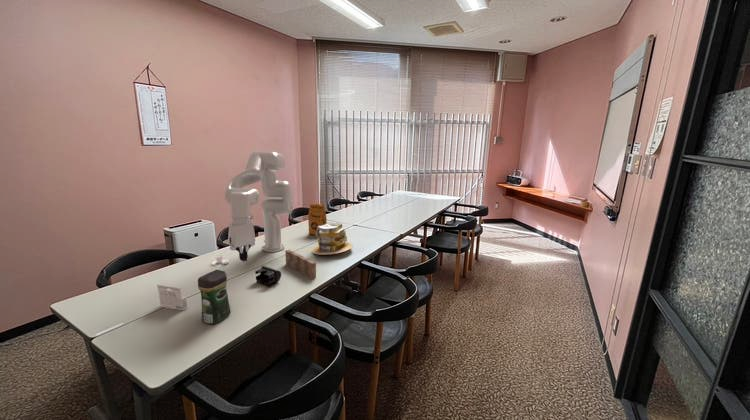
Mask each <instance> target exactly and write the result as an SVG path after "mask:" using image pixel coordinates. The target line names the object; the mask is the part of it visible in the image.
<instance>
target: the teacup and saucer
mask: <svg viewBox="0 0 750 420" xmlns="http://www.w3.org/2000/svg"><path fill="white" fill-rule="evenodd" d="M223 257H224V256H223V255H216V256H215V260H214V261H213V262H212V263H211V264H212V266H216V267H218V266H224V265H226V264H227V265H228V264H229V263H230V261H229V260H227V259H224V258H223ZM216 263H217V264H216Z"/></svg>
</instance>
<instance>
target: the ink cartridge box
mask: <svg viewBox="0 0 750 420" xmlns="http://www.w3.org/2000/svg"><path fill="white" fill-rule="evenodd" d="M156 285H157V291H158V297H159V305H160V307H162V308H167V309H173V310H178V311H185V310H187V309H188V301H187V296H184V295H182V291H181V288H178V287H174V286H165V285H159V284H156ZM168 289H169V290H168Z"/></svg>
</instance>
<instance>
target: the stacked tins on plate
mask: <svg viewBox="0 0 750 420" xmlns="http://www.w3.org/2000/svg"><path fill="white" fill-rule="evenodd" d="M346 231H347V230H346V229H345V228H344V227H343V223H342V222H336V223H335V222H332V221H331V222H328V223H326V224H324V225H323V226H318V227H317V232H316V235H315V238H318V240H317V244H318V245H317V246H315V247H314V248H312V249H311V252H312V253H313V254H315V255H325V256H327V255H335V254H340V253H343V252H346V251H348V250H351V249H352V248H353V247H354V245H353V243H351V242H348V237H347V234H346V233H347V232H346Z"/></svg>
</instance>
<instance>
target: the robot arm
mask: <svg viewBox="0 0 750 420" xmlns="http://www.w3.org/2000/svg"><path fill="white" fill-rule="evenodd" d="M285 166H286V159H285V157H284V155H283V154H282V153H279V152H276V151H261V150H260V151H259V150H258V151H253V152H252V153H251V154H250V155H249V157H248V159H247V163H246V166H245V168H244V171H241V172H239V173H238V174H236V175H235V176H233V177H232V178H231V179H230V180H229V181H228V184H227V186H226V188H225V189H226V190H225V192H224V200H225V202H226V203H227V204H228V205H230V218H231V223H229V225H228V234H227V235H228V237H227V238H228V241H227V242H228V245H229V246H230V247H229V250H230V251H237V252H238V258H239V260H240V261H242V262H243V263H244V262H246V261H248V258H249V257H248V252H249V251H250V249H251V247H254V246H255V245H256V234H255V227H254V224H253V222H252V220H253V219H254V215H251V206H256V205H257V204H258V203H259V202H260V200H261V194H260V191H259V190H258V189H256V188H251V187H250V188H247V187H246V186H250V185H252V184H256V183H259V182H260V181H261V190H262V194H263V196H265V197H266V198H264V199H263V200H261V203H260V204H261V205H260V207H261V211H262V215H263V230H264V231H263V232H264V239H263V243H264V245H263V246H262V251H264V252H266V253H277V252H280V251H282V250H284V249H285V245H284V244H283V243H282V229H281V227H282V226H281V224H282V223H281V218H280V217H279V216H278V215H289V214H291V213H292V211H293V201H292V200H293V197H292V187H291V184H290V182H289V181H288V180H279V179H277V172H276V171H282V170H284V168H285ZM245 187H246V188H245Z"/></svg>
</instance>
